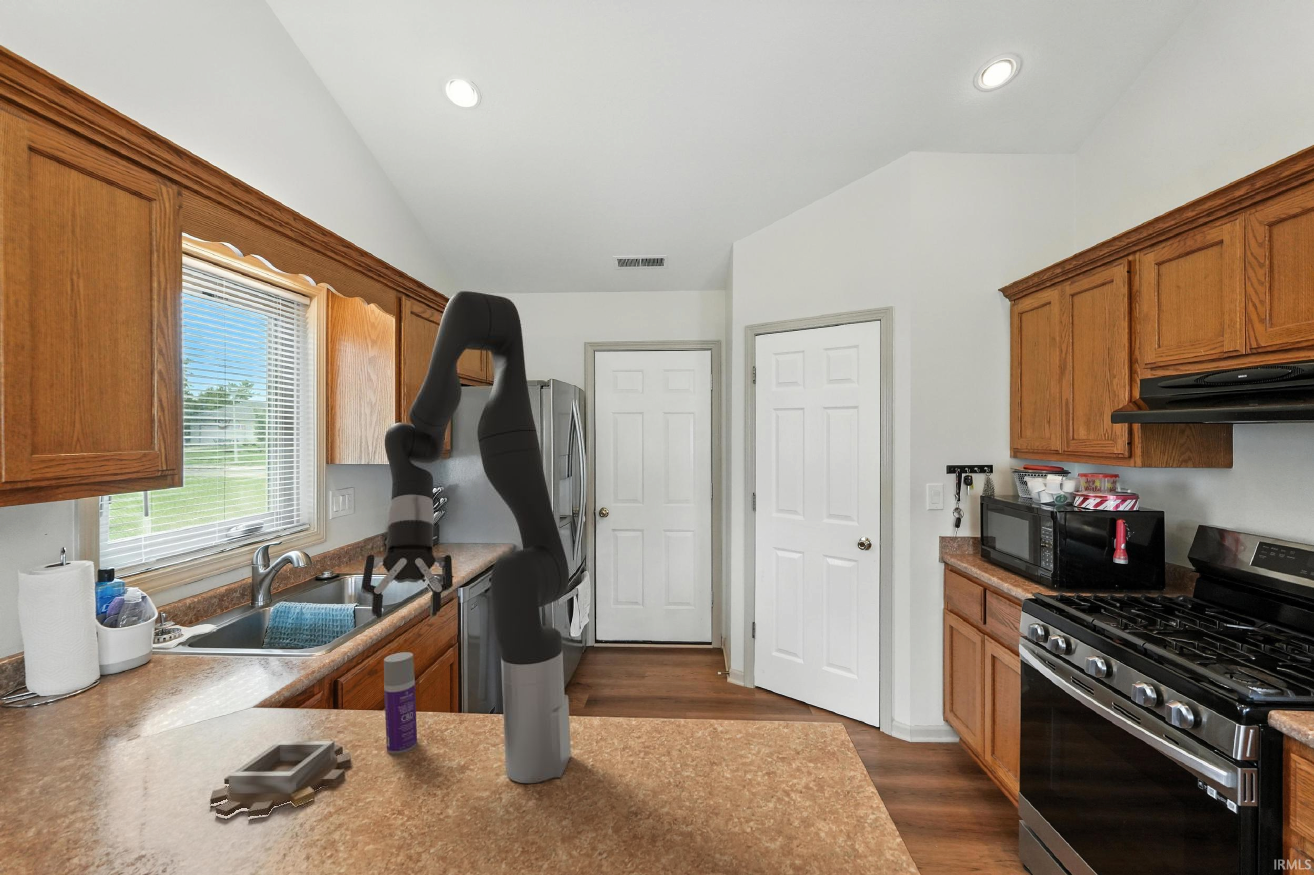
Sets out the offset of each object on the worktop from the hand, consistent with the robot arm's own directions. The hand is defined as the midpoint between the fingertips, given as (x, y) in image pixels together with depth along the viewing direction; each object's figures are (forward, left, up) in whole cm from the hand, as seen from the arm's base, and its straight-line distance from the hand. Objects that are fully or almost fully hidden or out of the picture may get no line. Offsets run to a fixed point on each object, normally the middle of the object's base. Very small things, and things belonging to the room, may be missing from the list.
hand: (406, 617), depth 95 cm
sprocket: (+15, +10, -22) cm, 28 cm away
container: (+2, 0, -22) cm, 22 cm away
